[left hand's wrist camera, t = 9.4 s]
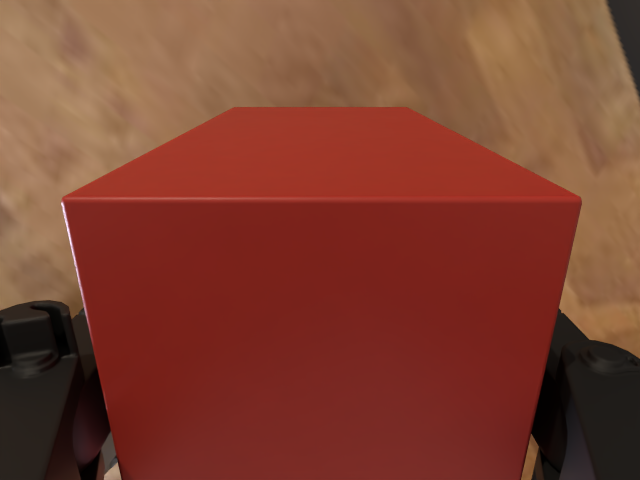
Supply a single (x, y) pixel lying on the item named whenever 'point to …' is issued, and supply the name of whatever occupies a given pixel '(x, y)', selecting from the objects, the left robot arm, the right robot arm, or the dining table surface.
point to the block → (321, 299)
